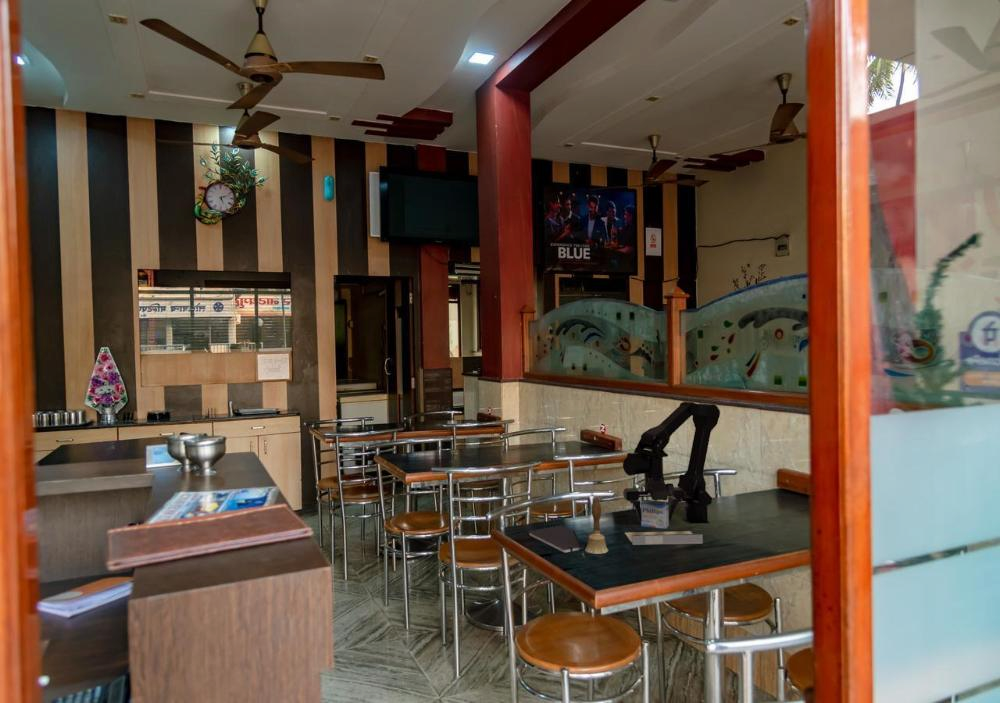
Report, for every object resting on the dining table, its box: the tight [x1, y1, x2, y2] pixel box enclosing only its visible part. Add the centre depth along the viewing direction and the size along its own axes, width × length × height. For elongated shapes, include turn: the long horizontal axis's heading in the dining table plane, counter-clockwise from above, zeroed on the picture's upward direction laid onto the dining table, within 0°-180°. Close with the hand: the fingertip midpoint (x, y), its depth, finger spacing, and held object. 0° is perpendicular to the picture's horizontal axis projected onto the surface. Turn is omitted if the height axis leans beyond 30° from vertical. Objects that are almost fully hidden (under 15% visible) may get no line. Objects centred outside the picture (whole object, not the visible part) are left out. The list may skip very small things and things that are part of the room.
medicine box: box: [640, 499, 670, 530], centre depth 198 cm, size 8×4×9 cm, turn 62°
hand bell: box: [581, 497, 609, 558], centre depth 175 cm, size 8×8×16 cm
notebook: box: [528, 525, 583, 553], centre depth 190 cm, size 13×2×21 cm
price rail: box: [631, 533, 704, 546], centre depth 179 cm, size 20×1×2 cm, turn 90°
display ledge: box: [624, 530, 700, 546], centre depth 184 cm, size 20×12×2 cm, turn 90°
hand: (655, 521), depth 198 cm, fingers closed on medicine box, 9 cm apart
